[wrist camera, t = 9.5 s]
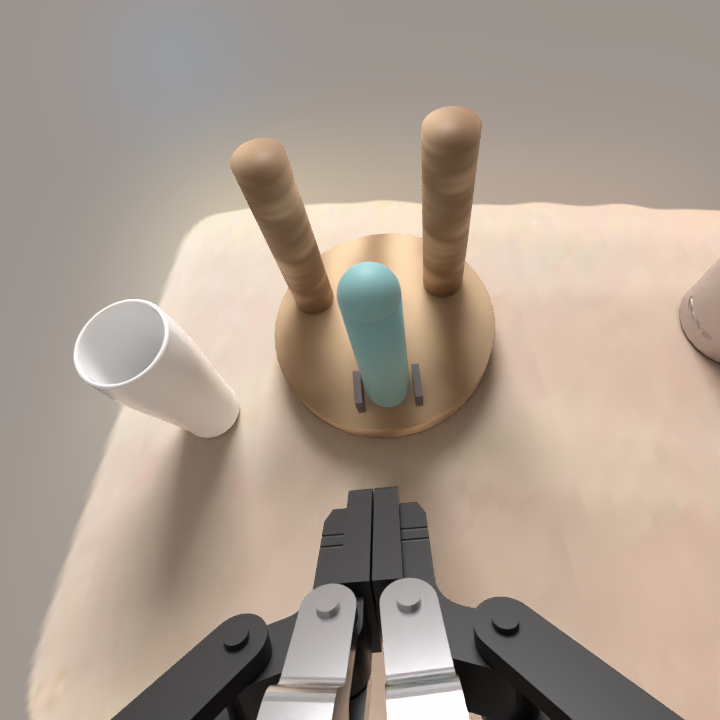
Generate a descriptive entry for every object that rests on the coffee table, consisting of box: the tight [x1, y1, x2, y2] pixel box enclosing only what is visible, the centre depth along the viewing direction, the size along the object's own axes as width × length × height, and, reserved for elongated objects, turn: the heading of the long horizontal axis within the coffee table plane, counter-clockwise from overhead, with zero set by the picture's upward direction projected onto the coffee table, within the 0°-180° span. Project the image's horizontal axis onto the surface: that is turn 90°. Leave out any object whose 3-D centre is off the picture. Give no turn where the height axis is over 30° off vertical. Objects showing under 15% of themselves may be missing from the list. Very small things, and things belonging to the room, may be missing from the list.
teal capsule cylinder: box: [336, 262, 410, 407], centre depth 32 cm, size 4×4×17 cm
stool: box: [230, 106, 495, 438], centre depth 36 cm, size 20×20×20 cm
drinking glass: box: [74, 299, 239, 438], centre depth 37 cm, size 7×7×15 cm
